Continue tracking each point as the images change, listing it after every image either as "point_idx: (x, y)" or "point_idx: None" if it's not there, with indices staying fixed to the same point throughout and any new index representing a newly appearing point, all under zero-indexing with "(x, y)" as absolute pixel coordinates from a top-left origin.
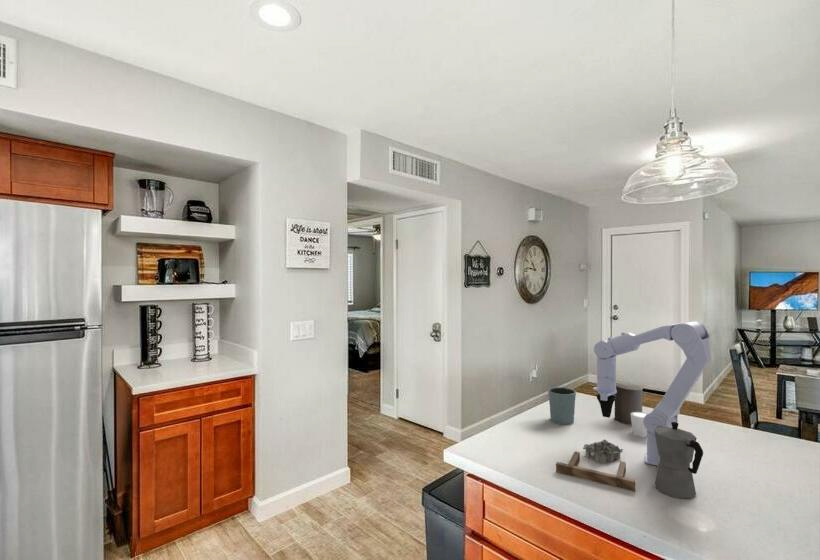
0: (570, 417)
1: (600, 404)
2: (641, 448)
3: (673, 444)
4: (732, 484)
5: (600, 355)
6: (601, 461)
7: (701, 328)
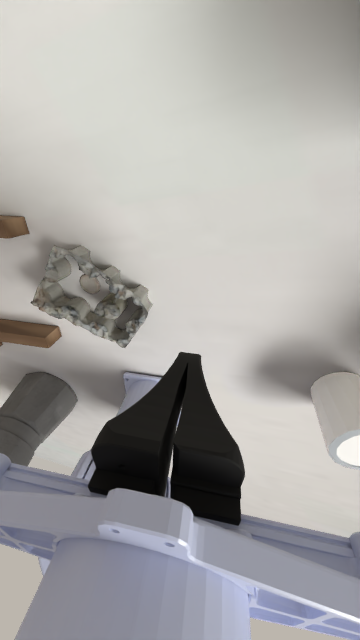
0: None
1: (144, 396)
2: (216, 375)
3: None
4: None
5: None
6: (61, 291)
7: None
